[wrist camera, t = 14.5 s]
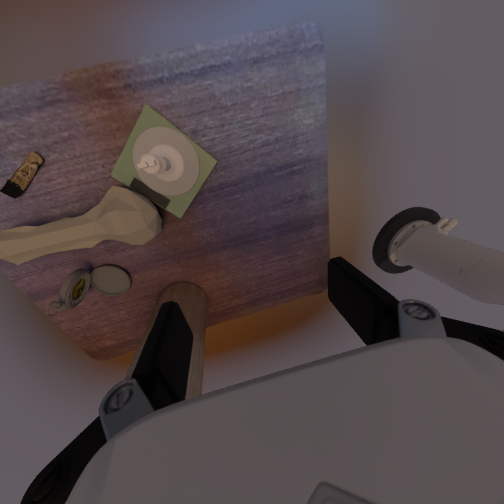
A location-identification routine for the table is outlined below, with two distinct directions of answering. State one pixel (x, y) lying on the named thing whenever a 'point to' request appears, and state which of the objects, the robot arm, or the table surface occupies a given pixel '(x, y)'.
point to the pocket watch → (101, 279)
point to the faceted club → (86, 228)
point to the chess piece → (163, 163)
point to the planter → (195, 314)
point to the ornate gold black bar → (22, 176)
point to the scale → (160, 192)
